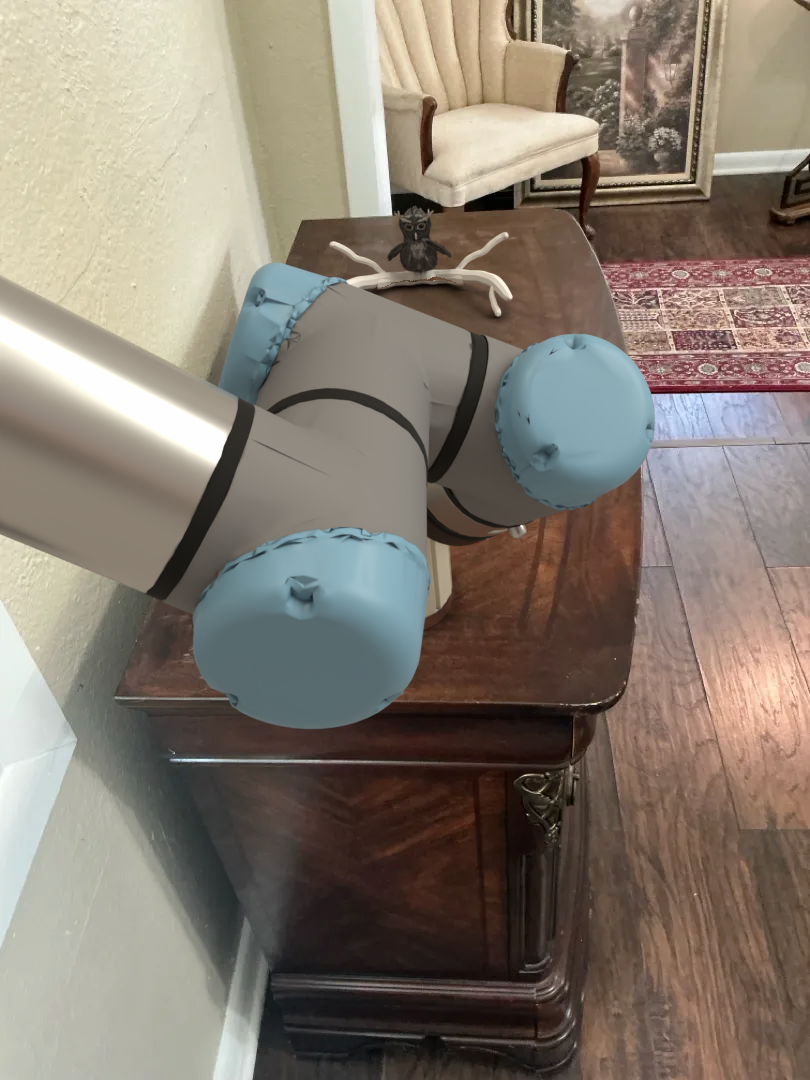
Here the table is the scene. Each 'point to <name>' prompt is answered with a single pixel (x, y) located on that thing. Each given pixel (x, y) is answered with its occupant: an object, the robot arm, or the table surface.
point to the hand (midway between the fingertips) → (382, 530)
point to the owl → (426, 261)
